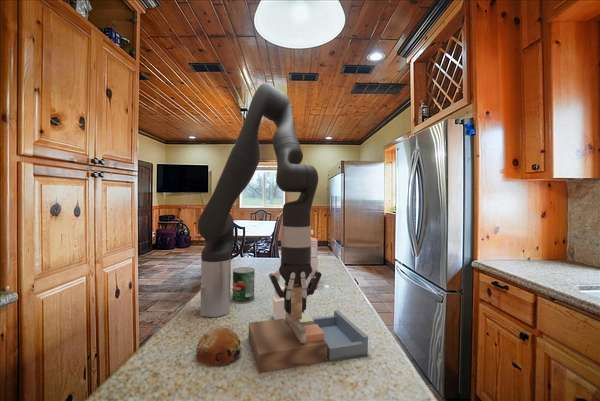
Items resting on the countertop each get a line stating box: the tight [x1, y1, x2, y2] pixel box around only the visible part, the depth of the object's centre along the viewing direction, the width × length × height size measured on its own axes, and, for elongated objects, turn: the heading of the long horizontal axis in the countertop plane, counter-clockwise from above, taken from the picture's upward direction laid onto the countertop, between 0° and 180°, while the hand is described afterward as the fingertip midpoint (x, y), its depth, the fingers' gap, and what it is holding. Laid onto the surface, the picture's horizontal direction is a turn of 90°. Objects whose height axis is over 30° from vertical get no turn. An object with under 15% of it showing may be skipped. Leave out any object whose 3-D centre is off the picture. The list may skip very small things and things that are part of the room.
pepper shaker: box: [272, 285, 285, 320], centre depth 90 cm, size 4×4×10 cm
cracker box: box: [306, 236, 319, 289], centre depth 124 cm, size 14×6×21 cm, turn 25°
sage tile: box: [299, 312, 314, 326], centre depth 77 cm, size 5×5×2 cm
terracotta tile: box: [304, 324, 324, 342], centre depth 70 cm, size 5×5×2 cm
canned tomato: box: [231, 266, 256, 304], centre depth 105 cm, size 8×8×11 cm
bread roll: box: [195, 326, 242, 367], centre depth 69 cm, size 10×10×8 cm
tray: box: [311, 309, 369, 362], centre depth 76 cm, size 10×17×4 cm, turn 18°
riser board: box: [248, 319, 328, 373], centre depth 72 cm, size 16×16×4 cm
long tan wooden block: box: [285, 284, 306, 343], centre depth 73 cm, size 3×14×11 cm, turn 18°
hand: (294, 311), depth 73 cm, fingers closed on long tan wooden block, 2 cm apart
